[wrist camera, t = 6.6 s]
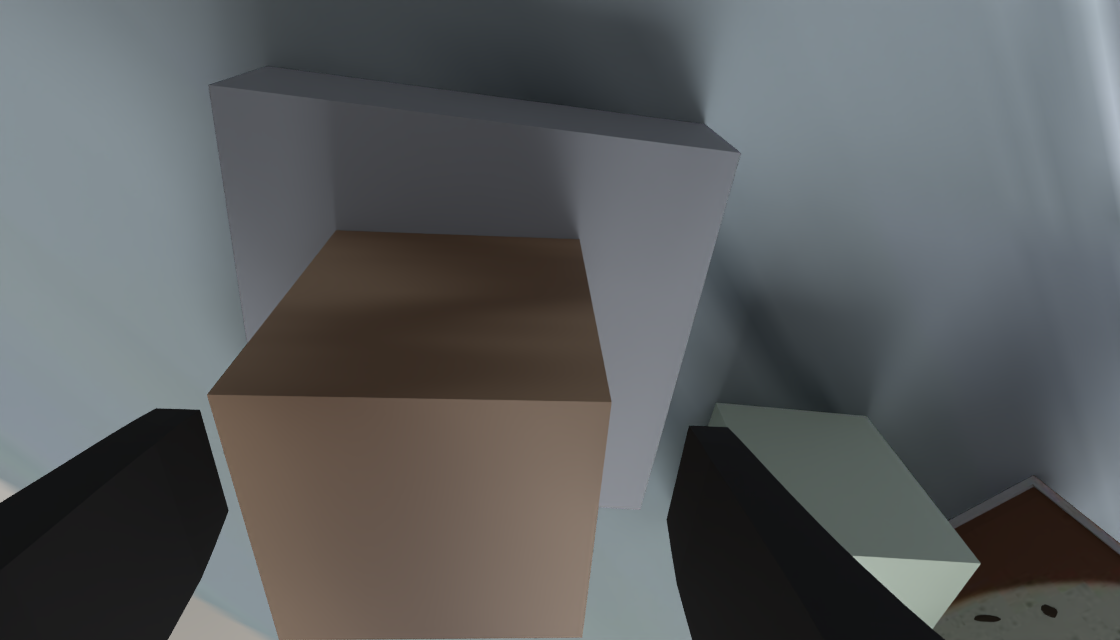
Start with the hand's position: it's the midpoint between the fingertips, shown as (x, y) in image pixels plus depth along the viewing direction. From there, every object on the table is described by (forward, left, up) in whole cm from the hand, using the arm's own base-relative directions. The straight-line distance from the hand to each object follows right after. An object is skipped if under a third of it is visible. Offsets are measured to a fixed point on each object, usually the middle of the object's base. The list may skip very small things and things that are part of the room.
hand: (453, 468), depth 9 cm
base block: (0, 0, -7) cm, 7 cm away
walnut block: (0, 0, -4) cm, 4 cm away
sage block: (-9, +5, -6) cm, 12 cm away
